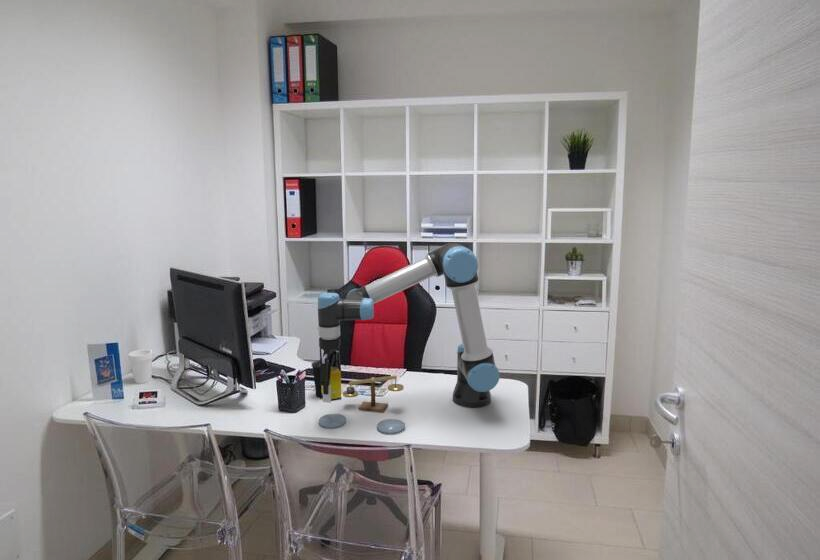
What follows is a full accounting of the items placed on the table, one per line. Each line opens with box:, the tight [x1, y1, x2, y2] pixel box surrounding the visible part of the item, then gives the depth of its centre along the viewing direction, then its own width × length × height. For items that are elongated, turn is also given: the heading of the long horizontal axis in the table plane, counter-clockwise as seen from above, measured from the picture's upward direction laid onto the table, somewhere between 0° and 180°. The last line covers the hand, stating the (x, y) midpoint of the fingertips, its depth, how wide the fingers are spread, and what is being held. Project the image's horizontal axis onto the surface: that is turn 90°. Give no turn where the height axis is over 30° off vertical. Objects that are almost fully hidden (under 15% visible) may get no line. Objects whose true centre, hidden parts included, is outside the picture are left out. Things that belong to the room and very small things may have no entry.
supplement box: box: [321, 366, 342, 402], centre depth 208 cm, size 6×6×11 cm
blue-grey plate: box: [376, 418, 406, 435], centre depth 206 cm, size 10×10×1 cm
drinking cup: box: [311, 347, 330, 399], centre depth 234 cm, size 8×8×20 cm
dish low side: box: [318, 413, 347, 430], centre depth 211 cm, size 10×10×1 cm
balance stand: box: [357, 382, 389, 414], centre depth 222 cm, size 10×6×11 cm, turn 77°
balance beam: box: [342, 375, 405, 398], centre depth 221 cm, size 24×6×9 cm, turn 77°
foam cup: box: [128, 349, 154, 385], centre depth 252 cm, size 10×9×13 cm
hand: (331, 397), depth 209 cm, fingers closed on supplement box, 8 cm apart
